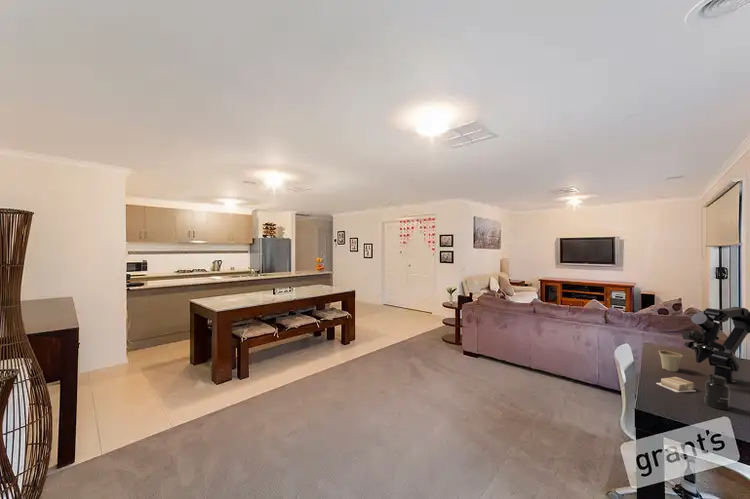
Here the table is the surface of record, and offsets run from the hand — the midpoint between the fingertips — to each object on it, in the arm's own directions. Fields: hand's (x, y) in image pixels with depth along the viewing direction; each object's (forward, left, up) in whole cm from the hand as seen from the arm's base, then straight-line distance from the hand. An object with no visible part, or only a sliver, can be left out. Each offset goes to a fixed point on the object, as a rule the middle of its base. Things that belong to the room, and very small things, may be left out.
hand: (698, 362), depth 149 cm
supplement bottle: (+17, +19, -11) cm, 28 cm away
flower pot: (-7, -18, -11) cm, 22 cm away
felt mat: (+15, +2, -10) cm, 18 cm away
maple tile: (+9, +1, -9) cm, 13 cm away
